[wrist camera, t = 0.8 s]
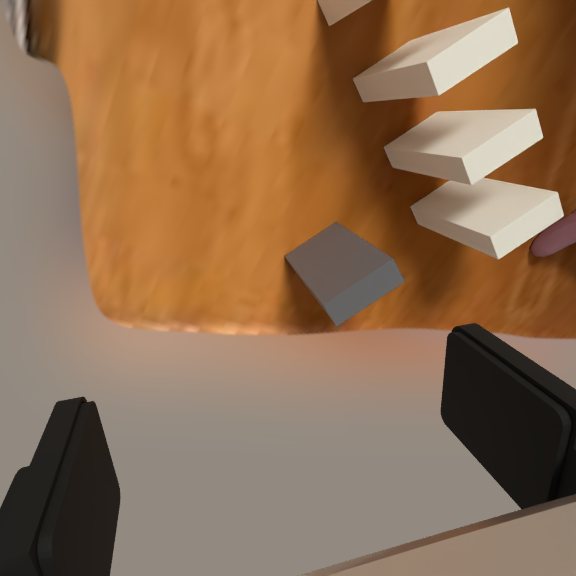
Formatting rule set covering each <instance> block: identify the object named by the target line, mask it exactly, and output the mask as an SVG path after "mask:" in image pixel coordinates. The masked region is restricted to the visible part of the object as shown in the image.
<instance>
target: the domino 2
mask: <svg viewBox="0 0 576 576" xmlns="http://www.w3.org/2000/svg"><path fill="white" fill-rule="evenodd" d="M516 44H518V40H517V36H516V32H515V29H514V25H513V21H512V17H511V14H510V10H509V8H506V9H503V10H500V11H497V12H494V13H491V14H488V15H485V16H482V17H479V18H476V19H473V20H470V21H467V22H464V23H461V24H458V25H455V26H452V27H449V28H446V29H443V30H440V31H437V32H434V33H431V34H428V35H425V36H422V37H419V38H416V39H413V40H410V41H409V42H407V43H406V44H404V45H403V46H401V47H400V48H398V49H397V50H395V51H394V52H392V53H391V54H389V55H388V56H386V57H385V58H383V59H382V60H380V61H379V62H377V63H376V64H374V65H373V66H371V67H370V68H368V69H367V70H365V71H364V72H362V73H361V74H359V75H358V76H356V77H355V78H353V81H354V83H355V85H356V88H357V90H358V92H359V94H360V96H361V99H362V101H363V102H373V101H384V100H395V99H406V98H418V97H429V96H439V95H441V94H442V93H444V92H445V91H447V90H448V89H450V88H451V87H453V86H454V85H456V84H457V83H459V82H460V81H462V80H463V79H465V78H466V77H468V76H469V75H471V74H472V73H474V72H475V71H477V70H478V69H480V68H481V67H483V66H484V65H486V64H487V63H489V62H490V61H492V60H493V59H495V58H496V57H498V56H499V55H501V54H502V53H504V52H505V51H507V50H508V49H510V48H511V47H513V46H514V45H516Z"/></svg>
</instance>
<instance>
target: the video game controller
mask: <svg viewBox="0 0 576 576" xmlns="http://www.w3.org/2000/svg"><path fill="white" fill-rule="evenodd" d="M574 243H576V209H575V210H574V211H573V212H572V213H571V214H570V215H568V216H566V217H565V218H563V219H561V220H559V221H557V222H556V223H554V224H552V225H551V226H549V227H548V228H547V229H545V230H544V231H543V232H542V233H541V234H540V235H539V236H538V237H537V238H536V239H535V240H534V242H533V244H532V246H531V252H532V254H533V255H535V256H538V257H545V256H549V255H552V254H554V253H556V252H558V251H560V250H561V249H563V248H565V247H567V246H569V245H571V244H574Z"/></svg>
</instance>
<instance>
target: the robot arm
mask: <svg viewBox="0 0 576 576" xmlns="http://www.w3.org/2000/svg"><path fill="white" fill-rule="evenodd" d="M441 416H442V419H443V421H444V423H445V424H446V425H447V427H448V428H449V429H450V430H451V431H452V432H453V433H454V434H455V436H456V437H457V438H458V439H459V440H460V441H461V442H462V443H463V445H465V447H466V448H467V449H468V450H469V451H470V452H471V453H472V455H473V456H474V457H475V458H476V459H477V460H478V461H479V462H480V463H481V465H482V466H483V467H484V468H485V469H486V470H487V471H488V472H489V473H490V474H491V476H492V477H493V478H494V479H495V480H496V481H497V482H498V483H499V485H500V486H501V487H502V488H503V489H504V490H505V491H506V492H507V493H508V494H509V496H510V497H511V498H512V499H513V500H514V501H515V502H516V503H517V505H518V506H519V507H520V508H521V509H522V510H518V511H515V512H512V513H508V514H505V515H501V516H498V517H494V518H491V519H487V520H484V521H480V522H477V523H474V524H470V525H467V526H464V527H460V528H456V529H453V530H450V531H446V532H443V533H439V534H436V535H433V536H429V537H426V538H423V539H419V540H416V541H412V542H409V543H406V544H402V545H399V546H396V547H392V548H389V549H385V550H382V551H379V552H375V553H372V554H369V555H365V556H362V557H359V558H355V559H352V560H349V561H345V562H342V563H338V564H335V565H332V566H329V567H325V568H322V569H319V570H315V571H312V572H309V573H306V574H302V575H299V576H576V389H574V388H573V387H571V386H570V385H568V384H567V383H565V382H564V381H562V380H560V379H559V378H558V377H556V376H555V375H553V374H552V373H550V372H549V371H547V370H546V369H544V368H543V367H541V366H539V365H538V364H537V363H535V362H534V361H532V360H531V359H529V358H528V357H526V356H525V355H523V354H522V353H520V352H519V351H517V350H516V349H514V348H513V347H511V346H510V345H508V344H507V343H505V342H504V341H502V340H501V339H499V338H498V337H496V336H495V335H493V334H492V333H490V332H489V331H487V330H486V329H484V328H483V327H481V326H480V325H478V324H476V323H472V324H467V325H461V326H456V327H454V328H453V330H452V333H450V334H449V335H448V337H447V346H446V357H445V369H444V379H443V390H442V402H441ZM119 506H120V488H119V483H118V480H117V477H116V473H115V470H114V466H113V462H112V459H111V455H110V452H109V448H108V445H107V442H106V438H105V434H104V431H103V428H102V424H101V420H100V417H99V413H98V410H97V407H96V404H95V402H93V401H91V402H87V400H86V399H85V397H79V398H74V399H68V400H64V401H58V402H57V403H56V405H55V406H54V409H53V411H52V413H51V416H50V418H49V421H48V423H47V425H46V428H45V430H44V433H43V435H42V437H41V440H40V442H39V445H38V447H37V449H36V452H35V454H34V457H33V459H32V461H31V463H30V466H27V467H23V468H21V469H20V470H18V472H17V474H16V475H15V477H14V479H13V481H12V484H11V486H10V488H9V490H8V492H7V495H6V497H5V499H4V501H3V503H2V506H1V508H0V576H110V569H111V563H112V556H113V549H114V542H115V535H116V527H117V520H118V514H119Z"/></svg>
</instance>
